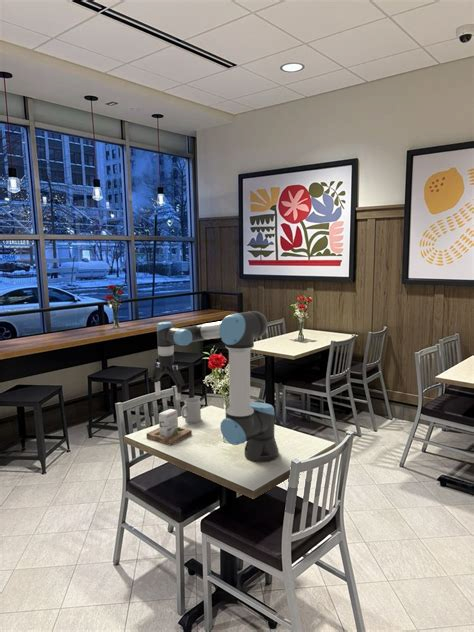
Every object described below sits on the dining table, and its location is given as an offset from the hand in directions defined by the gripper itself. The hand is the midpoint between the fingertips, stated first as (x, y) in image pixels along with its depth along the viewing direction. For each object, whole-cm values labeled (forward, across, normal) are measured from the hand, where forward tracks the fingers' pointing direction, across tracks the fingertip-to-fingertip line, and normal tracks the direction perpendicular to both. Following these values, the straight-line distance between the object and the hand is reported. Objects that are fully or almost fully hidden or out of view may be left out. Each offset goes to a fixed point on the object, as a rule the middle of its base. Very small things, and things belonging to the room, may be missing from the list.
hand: (168, 397), depth 221 cm
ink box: (+19, +1, 0) cm, 19 cm away
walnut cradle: (+20, 0, 0) cm, 20 cm away
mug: (+20, +5, -22) cm, 30 cm away
